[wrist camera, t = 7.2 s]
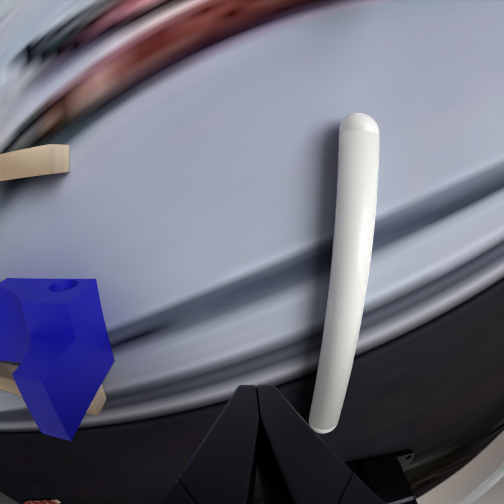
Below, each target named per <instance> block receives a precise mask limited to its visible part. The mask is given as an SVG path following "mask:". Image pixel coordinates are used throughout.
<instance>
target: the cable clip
mask: <svg viewBox="0 0 504 504" xmlns="http://www.w3.org/2000/svg"><path fill="white" fill-rule="evenodd" d="M0 361H13V362H18V363H21V364H20V365H19V366H18V368H17V369H16V370H15V372H14V373H13V374H12V376H13V378H14V380H15V383H16V385H17V387H18V389H19V391H20V393H21V395H22V397H23V399H24V401H25V403H26V405H27V407H28V409H29V411H30V413H31V415H32V417H33V418H34V420H35V422H36V424H37V426H38V427H39V429H40V431H41V433H43V434H46V435H50V436H53V437H57V438H61V439H65V440H69V441H72V439H73V437H74V435H75V433H76V431H77V429H78V427H79V425H80V423H81V421H82V419H83V418H84V416H85V414H86V412H87V410H88V408H89V406H90V404H91V402H92V401H93V399H94V397H95V395H96V393H97V391H98V390H99V388H100V386H101V384H102V382H103V381H104V379H105V377H106V375H107V373H108V372H109V370H110V368H111V366H112V365H113V363H114V357H113V354H112V350H111V346H110V342H109V338H108V334H107V330H106V326H105V321H104V317H103V312H102V308H101V303H100V298H99V293H98V288H97V282H96V279H21V278H7V279H5V280H4V281H2V282H0Z"/></svg>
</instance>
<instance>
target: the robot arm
mask: <svg viewBox="0 0 504 504" xmlns="http://www.w3.org/2000/svg"><path fill="white" fill-rule="evenodd" d="M414 455H415V454H414V452H413V450H407V451H403V452H399V453H395V454H391V455H386V456H382V457H377V458H373V459H368V460H362V461H357V462H351V463H344V462H343V461H342V460H341V459H340V458H339V457H338V456H337V455H336V454H335V453H334V451H333V450H332V449H331V448H330V447H329V446H328V445H327V444H326V443H325V442H324V441H323V440H322V439H321V438H320V437H319V435H318V434H317V433H316V432H315V431H314V430H313V429H312V428H311V427H310V426H309V425H308V423H307V422H306V421H305V420H304V419H303V418H302V417H301V416H300V415H299V413H298V412H297V411H296V410H295V409H294V408H293V407H292V405H291V404H290V403H289V402H288V401H287V400H286V399H285V397H284V396H283V395H282V394H281V393H280V392H279V391H278V389H277V388H276V387H275V386H274V385H258V386H257V387H256V386H254V385H239V386H238V387H237V389H236V390H235V392H234V394H233V395H232V397H231V398H230V400H229V402H228V403H227V405H226V406H225V408H224V410H223V411H222V413H221V414H220V416H219V417H218V419H217V421H216V422H215V424H214V425H213V427H212V428H211V430H210V431H209V433H208V434H207V436H206V437H205V439H204V440H203V442H202V443H201V445H200V446H199V448H198V449H197V451H196V452H195V454H194V455H193V457H192V458H191V460H190V461H189V463H188V464H187V466H186V467H185V469H184V470H183V472H182V473H181V474H180V476H179V477H178V481H175V483H174V484H173V486H172V487H171V488H170V490H169V491H168V493H167V494H166V495H165V497H164V498H163V499H162V500H161V502H160V503H159V504H253V498H254V489H255V481H256V470H257V466H258V473H259V479H260V484H261V489H262V494H263V499H264V504H418V503H417V501H416V499H415V494H414V492H413V490H412V488H411V486H410V483H409V481H408V479H407V477H406V475H405V473H404V472H405V470H406V469H407V467H408V466H409V464H410V462H411V461H412V459H413V457H414Z"/></svg>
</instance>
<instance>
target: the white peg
mask: <svg viewBox="0 0 504 504" xmlns="http://www.w3.org/2000/svg"><path fill="white" fill-rule="evenodd" d="M378 169H379V128H378V126H377V124H376V122H375V121H374V120H373V119H372V118H371V117H370V116H368V115H366V114H363V113H353V114H350V115H348V116H347V117H345V118H344V119H343V121H342V122H341V124H340V128H339V153H338V179H337V198H336V214H335V228H334V240H333V252H332V263H331V273H330V282H329V291H328V300H327V308H326V316H325V323H324V331H323V338H322V345H321V351H320V358H319V364H318V370H317V377H316V382H315V388H314V394H313V399H312V405H311V410H310V415H309V425H310V427H311V428H312V429H313V430H314V431H315V432H318V433H328V432H330V431H332V430H333V429H334V428H335V427H336V426H337V423H338V420H339V416H340V413H341V409H342V405H343V402H344V398H345V394H346V390H347V386H348V382H349V377H350V373H351V369H352V364H353V360H354V355H355V350H356V346H357V341H358V336H359V330H360V325H361V320H362V314H363V308H364V302H365V296H366V289H367V283H368V276H369V269H370V261H371V253H372V244H373V235H374V225H375V214H376V202H377V187H378Z"/></svg>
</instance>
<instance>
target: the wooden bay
mask: <svg viewBox="0 0 504 504" xmlns="http://www.w3.org/2000/svg"><path fill="white" fill-rule="evenodd" d="M65 172H69V145H59V144H49V145H44V146H38V147H33V148H28V149H23V150H18V151H13V152H9V153H4V154H0V181H5V180H12V179H18V178H25V177H32V176H40V175H48V174H56V173H65ZM17 368H18V365H14V364H10V363H7V362H3V361H0V389H1V390H4V391H6V392H9V393H12V394H15V395H18V396H22V395H21V393H20V391H19V389H18V387H17V385H16V383H15V380H14V378H13V376H12V374H13V373H14V372H15V370H16V369H17ZM106 399H107V398H106V395H105V392H104V388H103V385H102V384H101V386H100V388H99V390H98V391H97V393H96V395H95V397H94V399H93V401H92V402H91V404H90V406H89V408H88V410H87V412H86V413H87V414H92V415H97V416H98V415H99V413H100V411H101V409H102V407H103V405H104V403H105V401H106Z"/></svg>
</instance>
